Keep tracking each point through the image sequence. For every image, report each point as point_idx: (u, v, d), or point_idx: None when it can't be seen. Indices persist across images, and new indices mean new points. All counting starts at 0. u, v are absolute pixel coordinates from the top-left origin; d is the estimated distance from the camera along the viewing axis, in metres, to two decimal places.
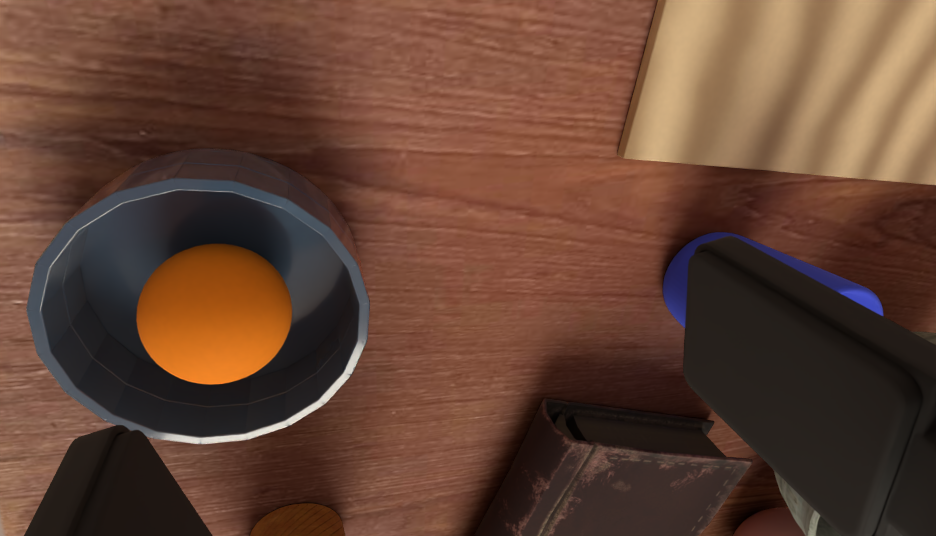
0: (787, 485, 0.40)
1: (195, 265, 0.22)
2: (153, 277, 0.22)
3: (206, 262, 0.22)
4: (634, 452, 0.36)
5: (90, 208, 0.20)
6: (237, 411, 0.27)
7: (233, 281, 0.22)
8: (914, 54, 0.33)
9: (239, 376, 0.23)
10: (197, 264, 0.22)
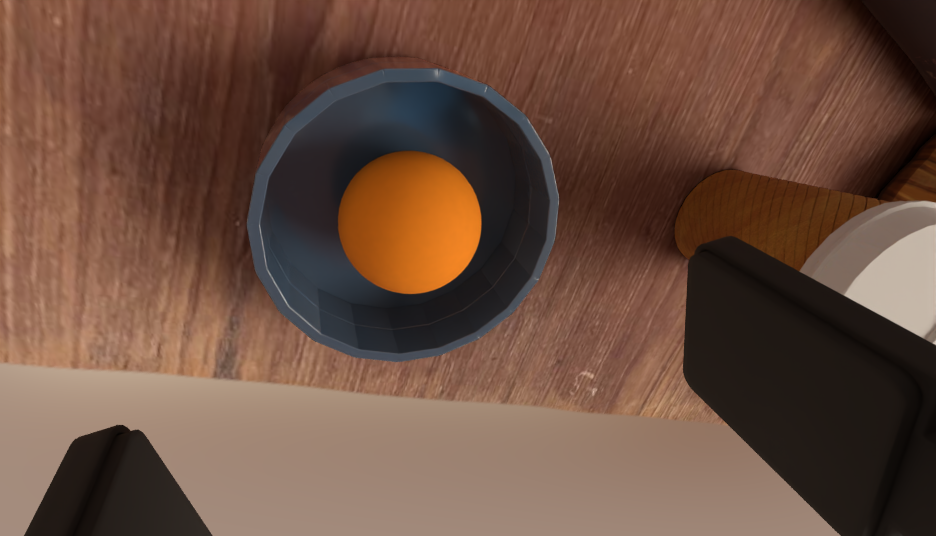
0: None
1: (344, 231, 0.22)
2: (353, 265, 0.23)
3: (344, 220, 0.22)
4: None
5: (268, 293, 0.22)
6: (528, 236, 0.26)
7: (365, 205, 0.21)
8: None
9: (469, 230, 0.22)
10: (344, 229, 0.22)
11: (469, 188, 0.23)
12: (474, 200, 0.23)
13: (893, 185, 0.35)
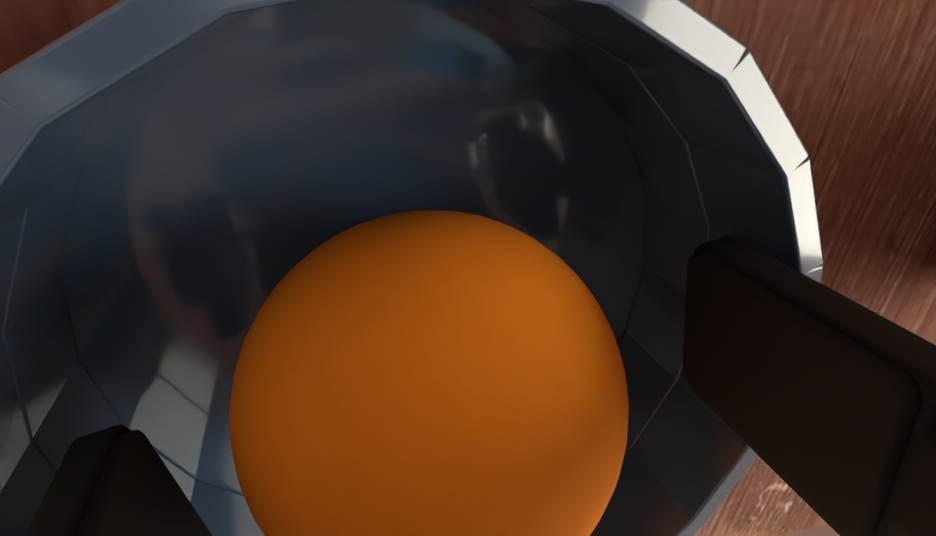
0: None
1: None
2: None
3: (237, 471, 0.07)
4: None
5: None
6: None
7: (273, 448, 0.06)
8: None
9: (615, 439, 0.07)
10: (242, 492, 0.07)
11: (585, 299, 0.08)
12: (605, 331, 0.08)
13: None
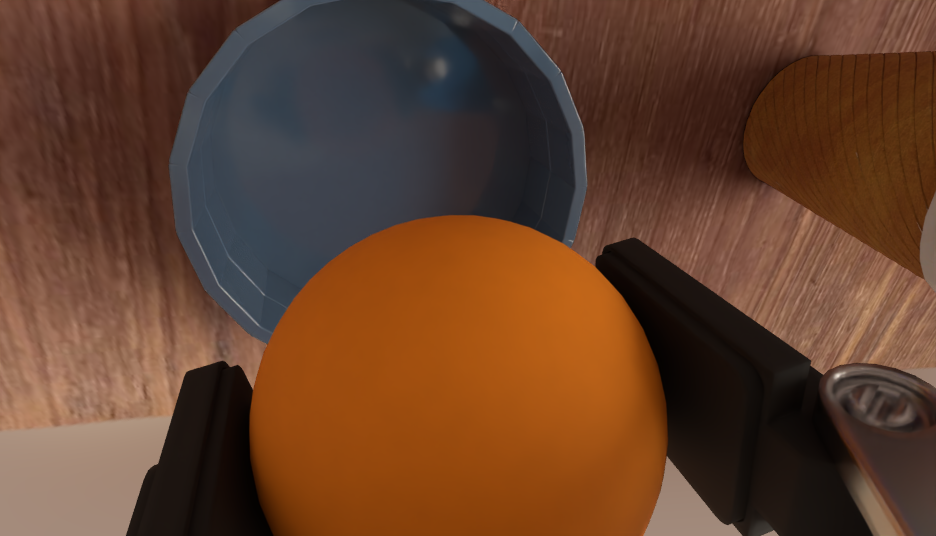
0: None
1: None
2: None
3: (269, 510, 0.07)
4: None
5: (229, 314, 0.17)
6: (553, 187, 0.20)
7: (323, 478, 0.06)
8: None
9: (664, 432, 0.07)
10: (275, 533, 0.07)
11: (617, 294, 0.08)
12: (639, 325, 0.08)
13: None
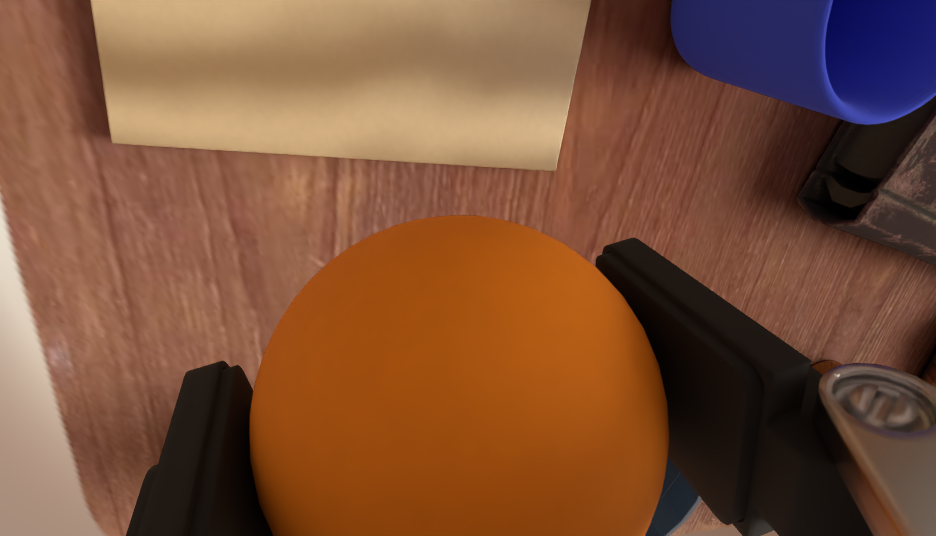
0: None
1: None
2: None
3: (269, 510, 0.07)
4: (923, 134, 0.28)
5: None
6: None
7: (323, 479, 0.06)
8: None
9: (665, 433, 0.07)
10: (275, 534, 0.07)
11: (618, 295, 0.08)
12: (640, 326, 0.08)
13: None
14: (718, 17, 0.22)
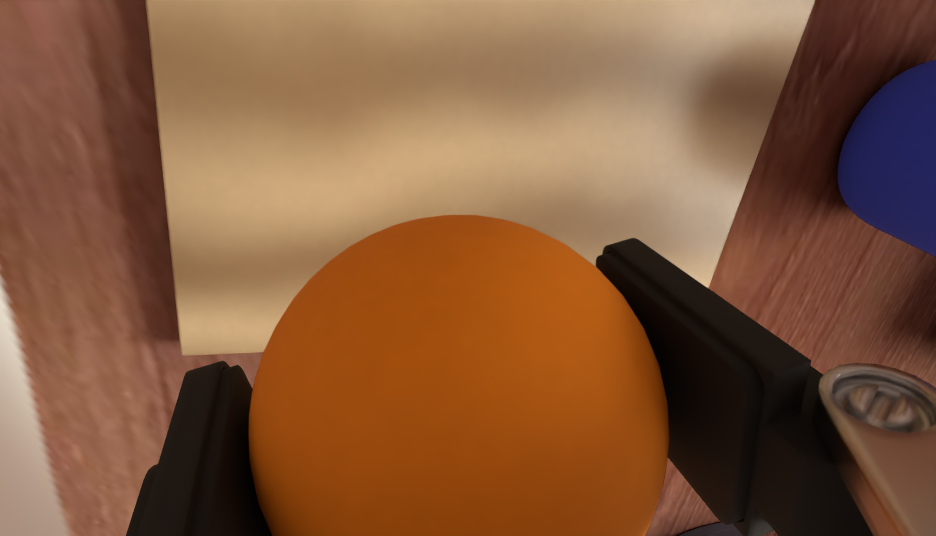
0: None
1: None
2: None
3: (268, 510, 0.07)
4: None
5: None
6: None
7: (322, 478, 0.06)
8: None
9: (665, 433, 0.07)
10: (274, 534, 0.07)
11: (618, 294, 0.08)
12: (640, 325, 0.08)
13: None
14: (934, 191, 0.18)
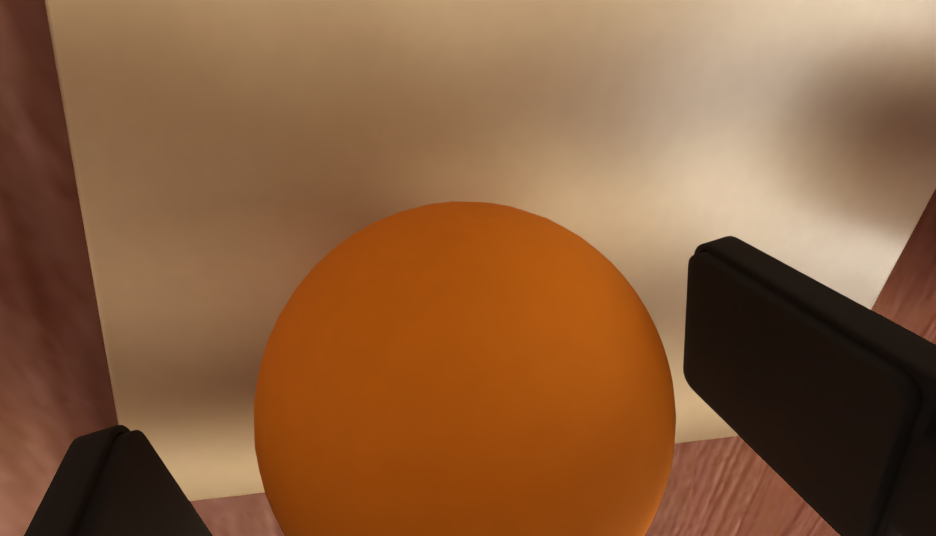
0: None
1: (285, 525, 0.07)
2: None
3: (276, 494, 0.06)
4: None
5: None
6: None
7: (333, 453, 0.06)
8: None
9: (672, 408, 0.07)
10: (282, 519, 0.07)
11: (620, 273, 0.08)
12: (643, 304, 0.08)
13: None
14: None
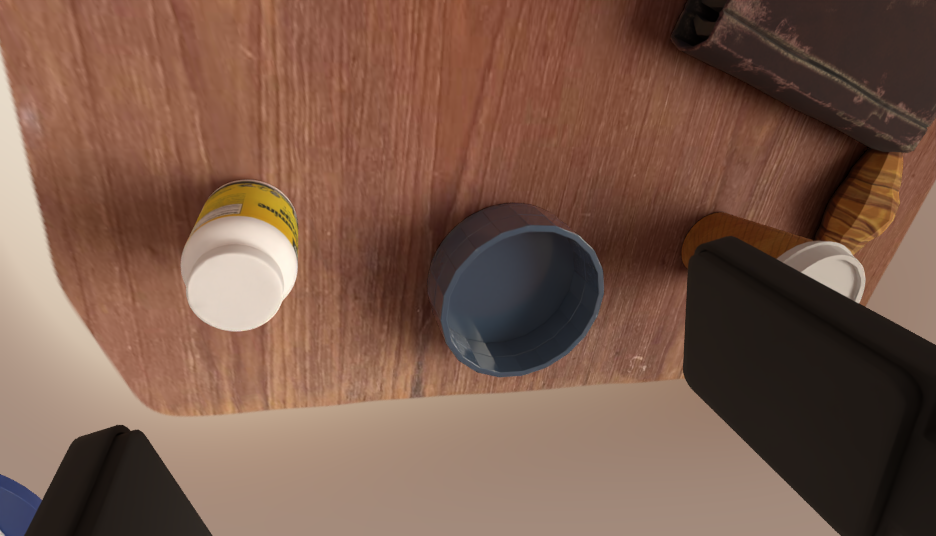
0: None
1: None
2: None
3: None
4: None
5: None
6: (587, 289, 0.44)
7: None
8: None
9: None
10: None
11: None
12: None
13: (835, 198, 0.50)
14: None
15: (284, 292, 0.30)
